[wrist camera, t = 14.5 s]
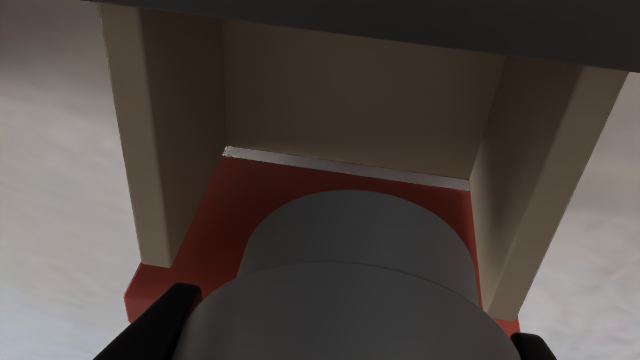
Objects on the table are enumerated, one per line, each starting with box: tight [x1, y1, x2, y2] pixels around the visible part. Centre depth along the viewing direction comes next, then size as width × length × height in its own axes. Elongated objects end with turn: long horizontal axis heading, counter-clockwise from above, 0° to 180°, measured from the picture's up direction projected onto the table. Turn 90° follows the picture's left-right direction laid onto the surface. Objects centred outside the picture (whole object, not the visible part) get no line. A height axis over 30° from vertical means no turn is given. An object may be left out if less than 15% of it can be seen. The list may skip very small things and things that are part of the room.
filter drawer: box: [98, 3, 629, 338], centre depth 16 cm, size 19×11×7 cm, turn 175°
